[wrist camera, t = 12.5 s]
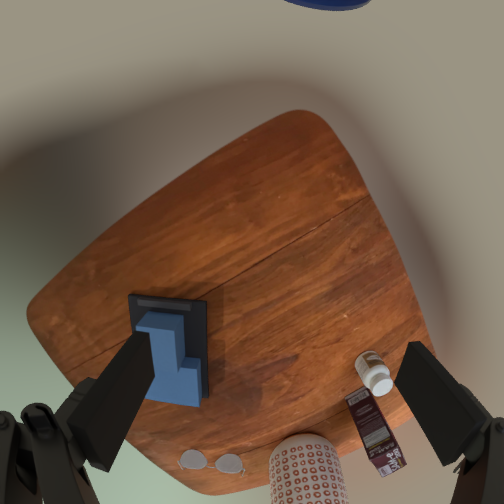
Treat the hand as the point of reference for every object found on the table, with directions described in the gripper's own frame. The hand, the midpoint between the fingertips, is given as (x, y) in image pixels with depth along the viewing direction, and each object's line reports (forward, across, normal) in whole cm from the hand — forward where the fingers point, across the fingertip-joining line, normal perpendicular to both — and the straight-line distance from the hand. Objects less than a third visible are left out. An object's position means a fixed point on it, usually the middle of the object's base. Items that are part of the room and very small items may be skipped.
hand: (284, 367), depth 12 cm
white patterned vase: (+25, +10, -40) cm, 48 cm away
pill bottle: (+26, +18, -18) cm, 36 cm away
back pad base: (+25, -14, -17) cm, 33 cm away
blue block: (+24, -14, -13) cm, 31 cm away
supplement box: (+25, +20, -28) cm, 42 cm away
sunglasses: (+25, -8, -48) cm, 54 cm away
